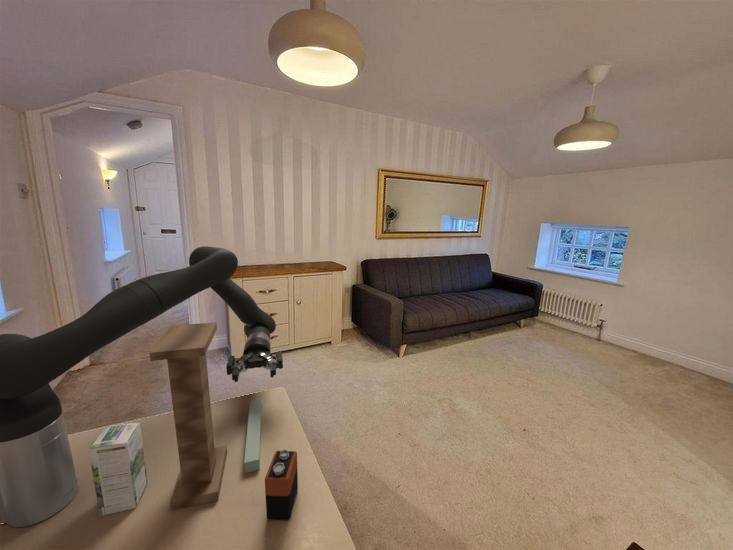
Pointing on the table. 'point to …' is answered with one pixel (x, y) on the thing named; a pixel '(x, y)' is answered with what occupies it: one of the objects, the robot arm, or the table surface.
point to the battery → (281, 485)
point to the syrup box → (118, 468)
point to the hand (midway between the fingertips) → (254, 376)
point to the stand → (192, 413)
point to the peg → (253, 437)
